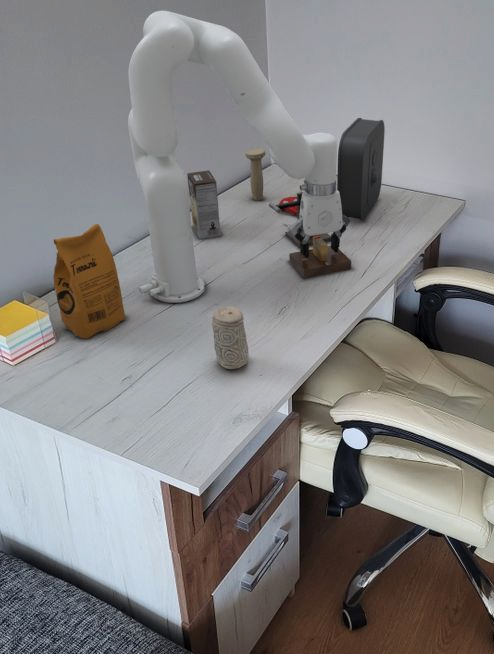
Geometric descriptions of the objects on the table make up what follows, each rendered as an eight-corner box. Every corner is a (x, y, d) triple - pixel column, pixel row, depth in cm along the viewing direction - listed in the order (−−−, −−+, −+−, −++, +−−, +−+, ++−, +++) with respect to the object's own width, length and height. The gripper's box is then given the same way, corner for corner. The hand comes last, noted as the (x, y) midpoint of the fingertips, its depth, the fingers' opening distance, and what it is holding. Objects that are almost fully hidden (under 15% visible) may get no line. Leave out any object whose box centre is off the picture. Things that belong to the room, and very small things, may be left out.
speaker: (358, 193, 214) (362, 113, 199) (385, 196, 211) (390, 116, 197) (336, 223, 194) (338, 137, 180) (364, 227, 192) (368, 140, 178)
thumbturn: (327, 260, 169) (327, 243, 166) (321, 261, 168) (321, 244, 165) (318, 251, 173) (319, 234, 170) (312, 252, 172) (312, 236, 170)
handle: (270, 197, 210) (268, 150, 201) (256, 203, 205) (254, 155, 197) (258, 194, 212) (256, 147, 204) (245, 200, 208) (242, 152, 199)
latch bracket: (300, 248, 180) (299, 203, 173) (285, 235, 187) (284, 192, 179) (332, 240, 184) (332, 196, 177) (316, 228, 191) (316, 186, 183)
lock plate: (304, 278, 166) (304, 269, 164) (289, 261, 173) (289, 252, 172) (350, 269, 170) (351, 260, 169) (334, 253, 178) (334, 244, 176)
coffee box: (192, 226, 191) (186, 172, 182) (214, 223, 193) (209, 169, 184) (199, 239, 184) (193, 183, 175) (221, 236, 186) (217, 180, 177)
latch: (277, 215, 174) (276, 207, 172) (268, 209, 177) (268, 200, 176) (317, 207, 179) (317, 198, 177) (308, 201, 182) (308, 192, 181)
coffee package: (57, 326, 147) (34, 235, 134) (106, 305, 155) (88, 216, 142) (82, 343, 141) (60, 249, 129) (131, 320, 149) (115, 230, 137)
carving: (231, 349, 140) (227, 300, 133) (256, 363, 136) (253, 313, 129) (208, 362, 136) (203, 312, 129) (233, 377, 132) (229, 326, 125)
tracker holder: (314, 212, 197) (281, 206, 195) (310, 224, 200) (278, 218, 198) (311, 189, 205) (280, 183, 203) (308, 200, 208) (277, 195, 206)
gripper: (292, 197, 154) (293, 265, 164) (359, 187, 160) (357, 253, 170) (281, 186, 160) (282, 253, 170) (346, 176, 166) (344, 241, 176)
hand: (320, 252), depth 170 cm, fingers open, 7 cm apart
